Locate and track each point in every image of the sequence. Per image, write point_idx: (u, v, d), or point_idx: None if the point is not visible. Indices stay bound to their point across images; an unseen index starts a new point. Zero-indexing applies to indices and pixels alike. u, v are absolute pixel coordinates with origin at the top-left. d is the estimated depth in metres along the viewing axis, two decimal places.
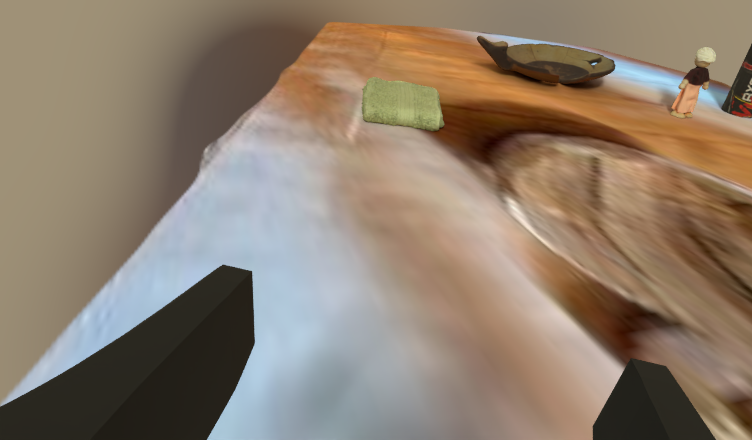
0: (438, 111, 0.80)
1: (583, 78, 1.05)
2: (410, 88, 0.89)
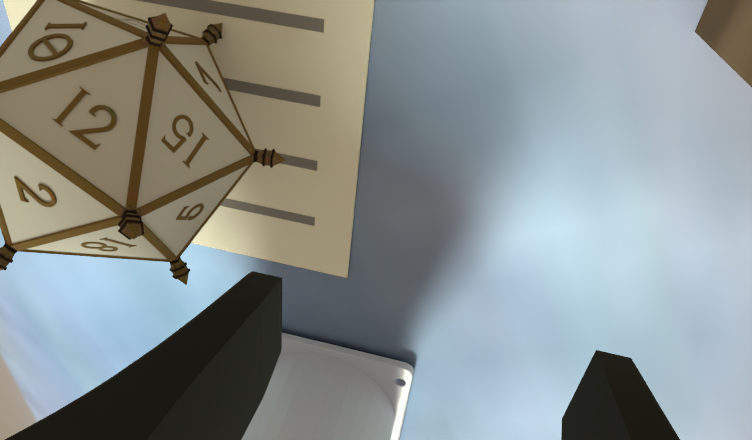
0: None
1: None
2: None
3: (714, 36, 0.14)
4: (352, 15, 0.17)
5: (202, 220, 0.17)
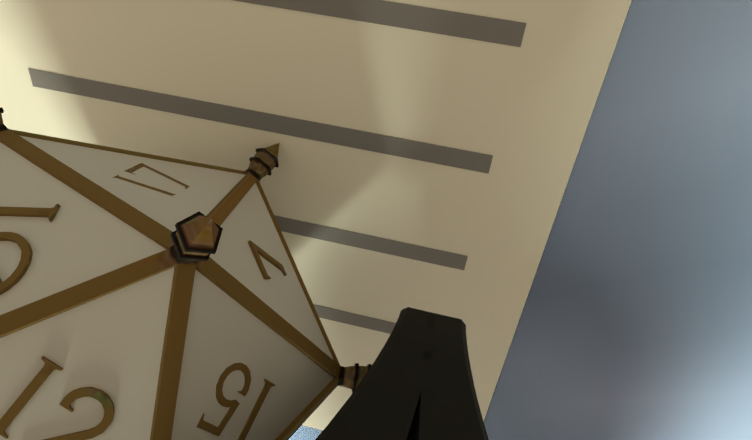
0: None
1: None
2: None
3: None
4: (543, 152, 0.10)
5: None
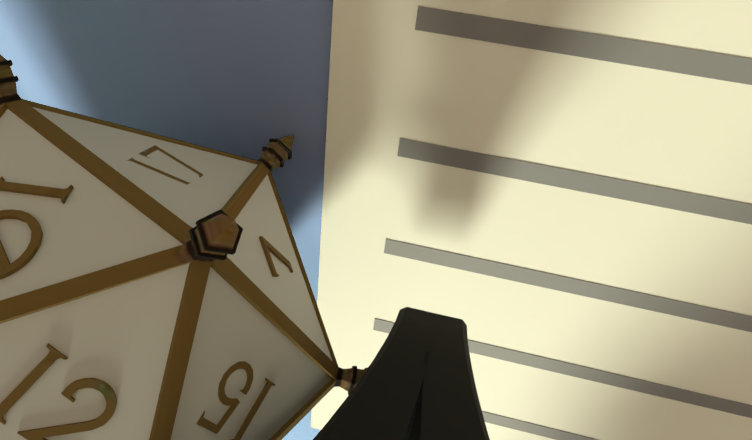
0: None
1: None
2: None
3: None
4: None
5: None
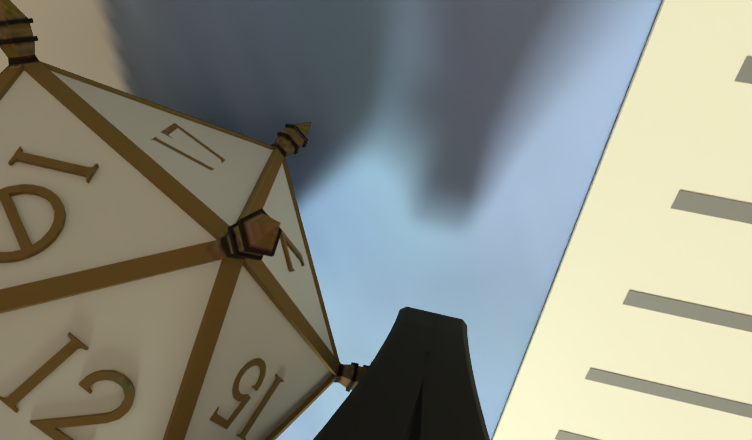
0: None
1: None
2: None
3: None
4: None
5: None
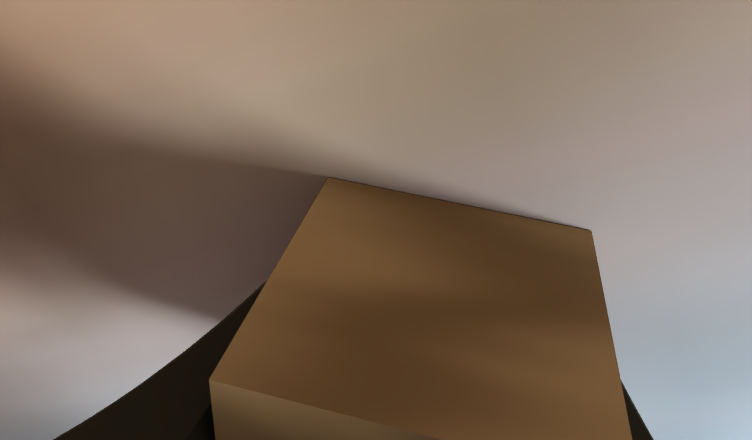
0: None
1: None
2: None
3: None
4: None
5: None
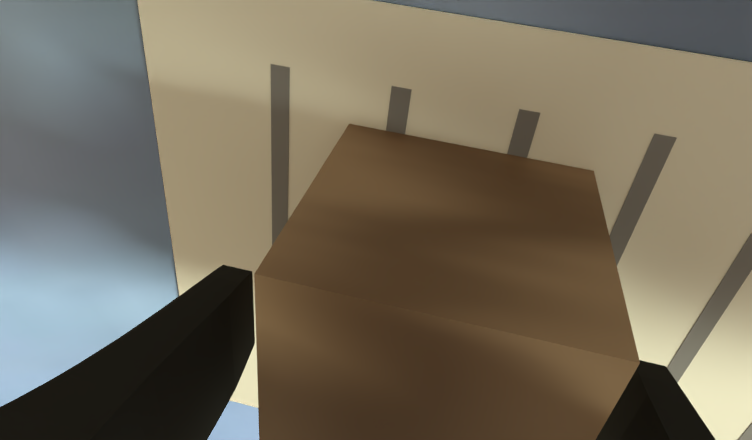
0: None
1: None
2: None
3: None
4: (518, 60, 0.10)
5: None
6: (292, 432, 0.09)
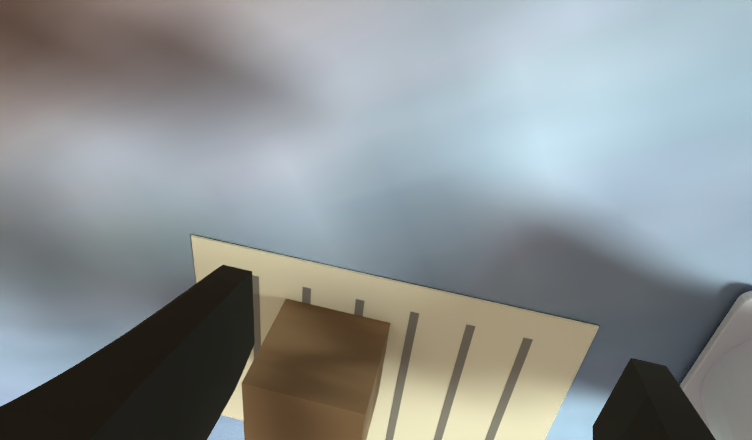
0: None
1: None
2: None
3: None
4: (352, 282, 0.24)
5: None
6: (257, 436, 0.23)
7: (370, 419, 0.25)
